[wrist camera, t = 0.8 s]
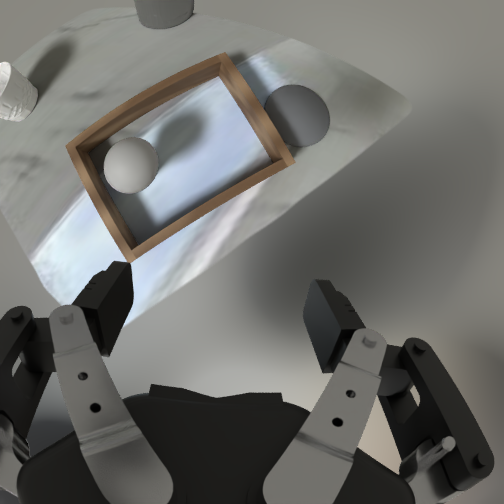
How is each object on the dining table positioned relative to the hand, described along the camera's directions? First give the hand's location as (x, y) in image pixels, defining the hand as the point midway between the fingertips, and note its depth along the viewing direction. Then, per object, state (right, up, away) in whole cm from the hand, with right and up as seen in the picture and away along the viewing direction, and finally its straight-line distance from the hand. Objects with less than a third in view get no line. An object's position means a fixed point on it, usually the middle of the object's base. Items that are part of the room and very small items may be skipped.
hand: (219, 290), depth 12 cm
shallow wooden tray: (-9, +15, +22) cm, 28 cm away
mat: (+8, +22, +24) cm, 34 cm away
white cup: (-36, +26, +15) cm, 47 cm away
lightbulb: (-13, +12, +22) cm, 28 cm away
